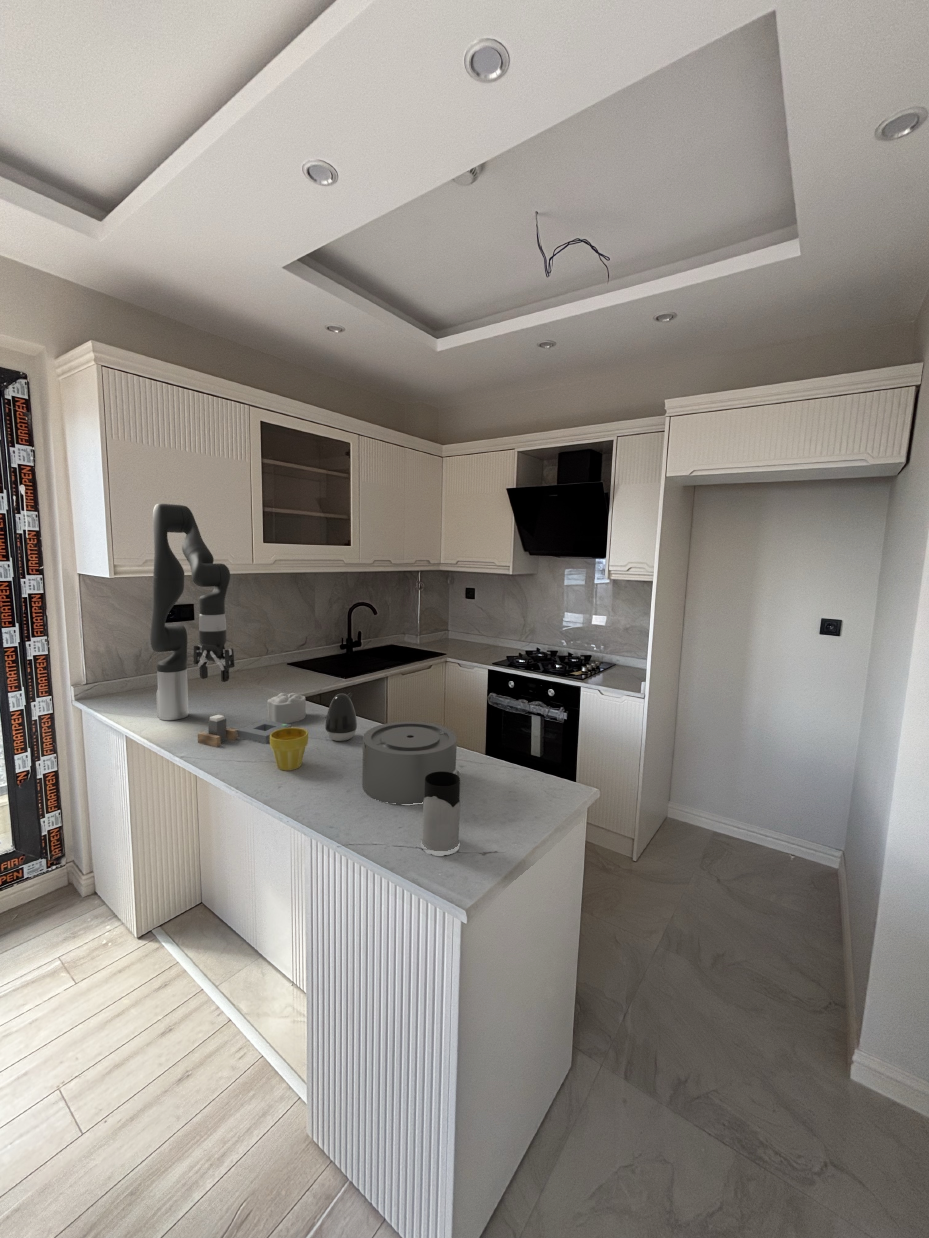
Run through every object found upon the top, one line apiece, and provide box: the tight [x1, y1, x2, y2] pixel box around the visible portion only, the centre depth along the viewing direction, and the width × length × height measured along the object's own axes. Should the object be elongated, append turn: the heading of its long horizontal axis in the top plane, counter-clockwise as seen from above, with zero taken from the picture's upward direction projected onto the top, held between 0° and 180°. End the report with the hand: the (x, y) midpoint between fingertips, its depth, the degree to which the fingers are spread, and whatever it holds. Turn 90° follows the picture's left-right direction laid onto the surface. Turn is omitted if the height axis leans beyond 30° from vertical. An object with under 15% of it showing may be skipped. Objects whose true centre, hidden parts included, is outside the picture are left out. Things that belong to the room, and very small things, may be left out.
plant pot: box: [269, 726, 309, 771], centre depth 150 cm, size 10×10×10 cm
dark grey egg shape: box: [324, 692, 358, 742], centre depth 172 cm, size 10×10×15 cm
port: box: [236, 719, 293, 744], centre depth 174 cm, size 12×12×3 cm
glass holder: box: [421, 769, 461, 851], centre depth 114 cm, size 9×14×15 cm, turn 159°
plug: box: [207, 714, 227, 743], centre depth 167 cm, size 4×4×8 cm
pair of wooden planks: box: [197, 727, 238, 748], centre depth 167 cm, size 8×8×3 cm
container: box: [361, 720, 458, 804], centre depth 141 cm, size 25×25×13 cm
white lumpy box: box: [266, 692, 307, 724], centre depth 191 cm, size 10×13×9 cm
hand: (214, 679), depth 163 cm, fingers open, 8 cm apart
